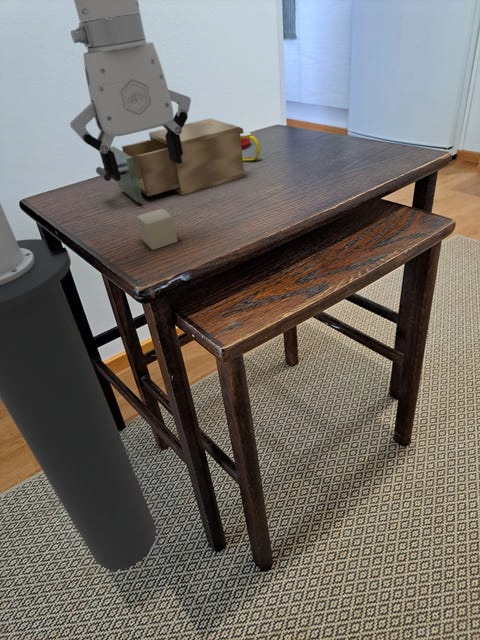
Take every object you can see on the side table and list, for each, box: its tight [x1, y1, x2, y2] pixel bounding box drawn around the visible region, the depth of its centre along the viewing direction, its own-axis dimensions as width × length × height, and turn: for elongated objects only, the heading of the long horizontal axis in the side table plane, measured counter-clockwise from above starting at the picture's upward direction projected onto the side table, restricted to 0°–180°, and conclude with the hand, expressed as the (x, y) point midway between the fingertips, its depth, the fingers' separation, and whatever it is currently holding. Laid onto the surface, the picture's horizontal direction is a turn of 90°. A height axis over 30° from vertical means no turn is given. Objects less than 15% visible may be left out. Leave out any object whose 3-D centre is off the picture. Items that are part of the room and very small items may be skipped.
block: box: [136, 208, 179, 251], centre depth 72 cm, size 4×4×4 cm
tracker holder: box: [231, 124, 251, 149], centre depth 117 cm, size 12×4×10 cm
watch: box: [240, 132, 261, 162], centre depth 103 cm, size 6×3×6 cm, turn 64°
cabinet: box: [148, 118, 245, 196], centre depth 95 cm, size 15×13×10 cm
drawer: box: [95, 138, 179, 203], centre depth 90 cm, size 18×12×8 cm
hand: (146, 170), depth 67 cm, fingers open, 9 cm apart
